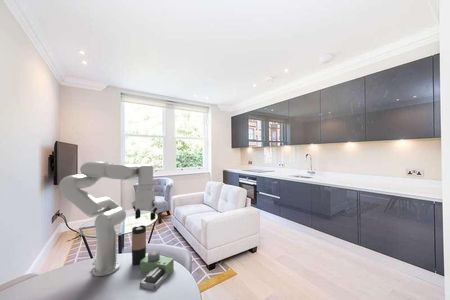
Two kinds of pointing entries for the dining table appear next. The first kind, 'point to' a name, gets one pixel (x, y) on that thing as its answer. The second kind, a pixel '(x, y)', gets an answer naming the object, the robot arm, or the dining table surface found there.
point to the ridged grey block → (154, 275)
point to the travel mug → (138, 244)
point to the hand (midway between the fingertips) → (145, 218)
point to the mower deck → (153, 262)
